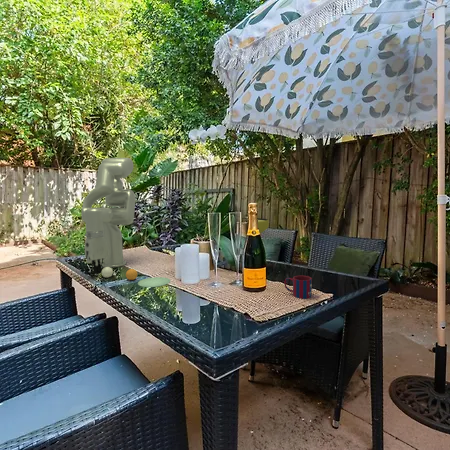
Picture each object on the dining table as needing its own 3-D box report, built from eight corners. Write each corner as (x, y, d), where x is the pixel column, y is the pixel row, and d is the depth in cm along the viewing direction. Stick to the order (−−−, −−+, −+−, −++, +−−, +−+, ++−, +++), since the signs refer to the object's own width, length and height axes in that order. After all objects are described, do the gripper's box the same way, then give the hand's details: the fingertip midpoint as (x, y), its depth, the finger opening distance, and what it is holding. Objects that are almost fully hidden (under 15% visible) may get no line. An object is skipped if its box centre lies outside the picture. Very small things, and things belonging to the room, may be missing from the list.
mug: (308, 300, 110) (308, 281, 109) (281, 295, 116) (281, 277, 115) (313, 294, 116) (314, 276, 115) (288, 290, 121) (288, 273, 120)
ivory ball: (99, 278, 144) (98, 267, 144) (107, 275, 149) (106, 265, 148) (107, 279, 142) (107, 268, 142) (115, 276, 147) (114, 266, 146)
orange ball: (123, 280, 139) (123, 270, 138) (130, 277, 144) (130, 267, 143) (133, 281, 137) (132, 270, 137) (139, 278, 142) (139, 268, 141)
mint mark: (131, 285, 132) (131, 284, 132) (150, 276, 145) (150, 276, 145) (159, 288, 127) (159, 287, 127) (176, 279, 140) (176, 278, 140)
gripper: (88, 237, 137) (90, 277, 138) (112, 233, 150) (115, 270, 152) (75, 236, 140) (78, 276, 142) (101, 232, 153) (103, 269, 155)
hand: (97, 273), depth 147 cm, fingers closed
